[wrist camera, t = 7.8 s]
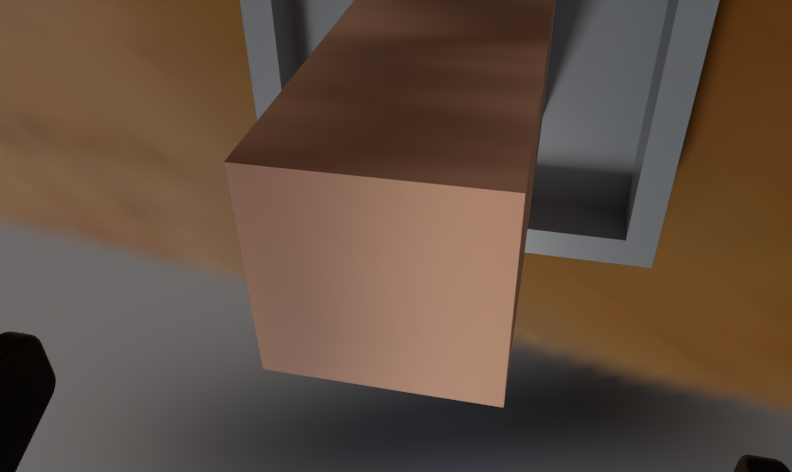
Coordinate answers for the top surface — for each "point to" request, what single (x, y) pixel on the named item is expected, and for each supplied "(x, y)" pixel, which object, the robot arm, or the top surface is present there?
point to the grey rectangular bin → (563, 112)
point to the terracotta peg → (397, 196)
